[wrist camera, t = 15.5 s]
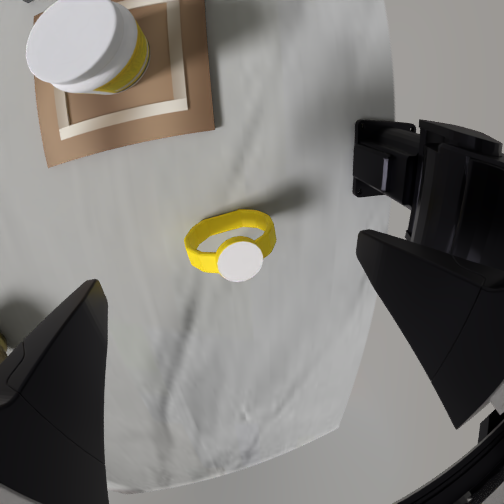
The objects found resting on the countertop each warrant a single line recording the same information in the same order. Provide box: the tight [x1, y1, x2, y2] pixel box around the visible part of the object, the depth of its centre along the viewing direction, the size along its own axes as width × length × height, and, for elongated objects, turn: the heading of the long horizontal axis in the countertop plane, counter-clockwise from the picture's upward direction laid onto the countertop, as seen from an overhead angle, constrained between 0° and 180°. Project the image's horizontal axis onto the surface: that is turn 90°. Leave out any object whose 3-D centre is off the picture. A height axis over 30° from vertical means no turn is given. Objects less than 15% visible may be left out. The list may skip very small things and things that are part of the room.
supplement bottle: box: [26, 0, 150, 95], centre depth 10 cm, size 5×5×8 cm
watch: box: [184, 209, 276, 282], centre depth 19 cm, size 6×3×6 cm, turn 101°
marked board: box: [34, 0, 215, 168], centre depth 13 cm, size 12×12×1 cm
